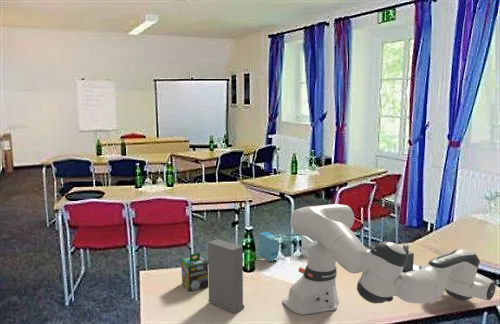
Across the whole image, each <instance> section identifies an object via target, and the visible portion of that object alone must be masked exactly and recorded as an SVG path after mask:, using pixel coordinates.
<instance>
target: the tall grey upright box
mask: <svg viewBox="0 0 500 324" xmlns="http://www.w3.org/2000/svg"><path fill="white" fill-rule="evenodd" d="M243 250H244V249H243V246H241V245H238V244H235V243H232V242H228V241H225V240H221V239H219V238H216V239H214V240H211V241H208V242H207V256H208V257H207V258H208V260H207V262H208V301H207V302H208V303H209V304H213V305H214V306H217V307H219V308H221V309H224V310H226V311H228V312H230V313H233V314H235V313H236V312H239V311H240V310H242V309H245V305H244V288H243V287H244V281H243V280H244V270H243V269H244V268H243V267H244V266H243V265H244V262H243V261H244V259H243V258H244V255H243V253H244V251H243Z"/></svg>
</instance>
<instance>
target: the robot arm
mask: <svg viewBox="0 0 500 324" xmlns="http://www.w3.org/2000/svg"><path fill="white" fill-rule="evenodd" d="M290 215H291V216H290V222H289V223H290V227H291V229H292V230H293V231H294V232H295V233H296V234H297V235H300V236H302V235H304V236H307V237H309V238H310V239H311V240H313V242H312V243H311V244H310V245H309V247H308V256H306V257H307V260H306V261H307V262H306V263H307V264H306V266H305V268H303V267H301V266H300V267H299V268H298V272H299V273H301V274H303V275H302V276H301V277H300V278H299V279H297V281H296V282H294V284H292V285H291V286H290V288H289V291H288V296H286V297H283V299H282V305H284V306H285V307H286V308H287V309H288V310H290V311H291V312H293V313H295V314H298V315H300V316H301V315H303V316H304V315H309V314H316V313H322V312H328V311H330V312H331V311H336V310H337V309H338V307H337V305H338V304H339V303H340V300H339V296H338V291H337V283H336V277H337V266H336V264H337V263H338V265H339V266H341V268H343V269H344V270H345V271H347V272H348V273H350V274H360V273H361V276H360V277H359V279H358V281H357V285H356V291H357V292H358V295H359V296H360V297H361V298H362V299H363V300H365V301H367V302H368V303H371V304H383V303H385V302H388V303H390V302H392V301H393V300H394V297H397V298H398V299H400V300H401V301H402V302H406V303H410V304H419V305H420V304H421V305H422V304H429V303H433V302H436V301H437V300H438V299H440V298H441V296H443V293H444V292H445V293H447V295H448V296H450V297H452V298H453V299H456V300H458V301H464V302H466V301H468V300H471V299H473V298H477V299H480V300H483V301H491V300H492V298H493V297H494V295H495V294H496V293H495V292H496V283H495V281H494V280H493V279H491V278H489V277H487V276H484V275H482V274H480V273H478V272H477V271H478V269H479V265H480V263H481V259H480V258H479V257H478V255H477V254H476V253H475V252H474V251H471V250H469V249H465V248H458V249H454V250H453V251H450V253H447V254H444V255H439V256H437V257H434V258H431V259H430V260H429V261H428V262H427V263H426V264H425V265H423V264H421V265H418V267H419V270H414V271H409V272H406V273H404V272H402V270H403V268H404V266H406V263H407V259H408V255H407V253H406V251H405V250H404V249H403V246H401V245H400V244H398V243H395V242H394V241H393V242H392V241H390V240H386V241H385V240H384V241H379V242H378V243H372V244H371V245H370V246H371V249H368V248H366V247H367V246H365V245H364V244H363V242H362V241H361V240H360V239H359V237H357V236H356V234H355V233H354V232H353V231H352V230H351V228H352V227H353V225H354V223H355V214H354V211H353V210H352V208H351V207H350V206H349V205H346V204H340V203H331V204H321V205H308V206H304V207H303V206H302V207H300V208H297V209H295V210H293V212H292V213H291V214H290Z"/></svg>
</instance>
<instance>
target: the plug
mask: <svg viewBox="0 0 500 324" xmlns="http://www.w3.org/2000/svg"><path fill="white" fill-rule="evenodd" d="M409 247H410V246H409V245H408V244H404V245H403V244H402V248H403V249H404V250H405V251H406V253H407V255H408V259H407V263H406V266H404V268H403V270H402V272H404V273H406V272H409V271H413V264H414V259H415V257H414V256H415V253H414V252H412V251H410V250H409V249H410V248H409Z"/></svg>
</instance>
